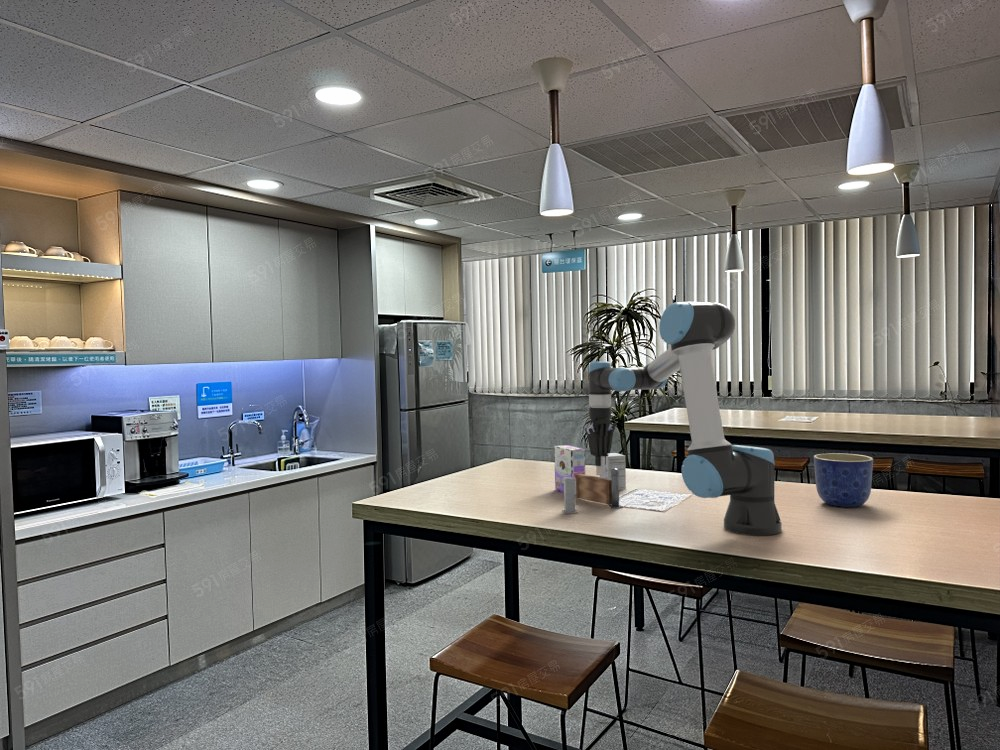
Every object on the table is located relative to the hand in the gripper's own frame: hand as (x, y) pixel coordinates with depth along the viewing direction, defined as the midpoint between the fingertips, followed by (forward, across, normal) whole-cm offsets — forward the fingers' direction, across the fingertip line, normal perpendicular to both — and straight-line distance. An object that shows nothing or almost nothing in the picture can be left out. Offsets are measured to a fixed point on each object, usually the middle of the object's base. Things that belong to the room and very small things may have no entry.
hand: (600, 475), depth 233 cm
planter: (+8, -48, +60) cm, 77 cm away
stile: (+8, +22, +7) cm, 24 cm away
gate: (+8, +7, +3) cm, 10 cm away
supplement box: (+9, -16, -9) cm, 21 cm away
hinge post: (+8, +6, +12) cm, 16 cm away
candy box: (+9, 0, -15) cm, 17 cm away
